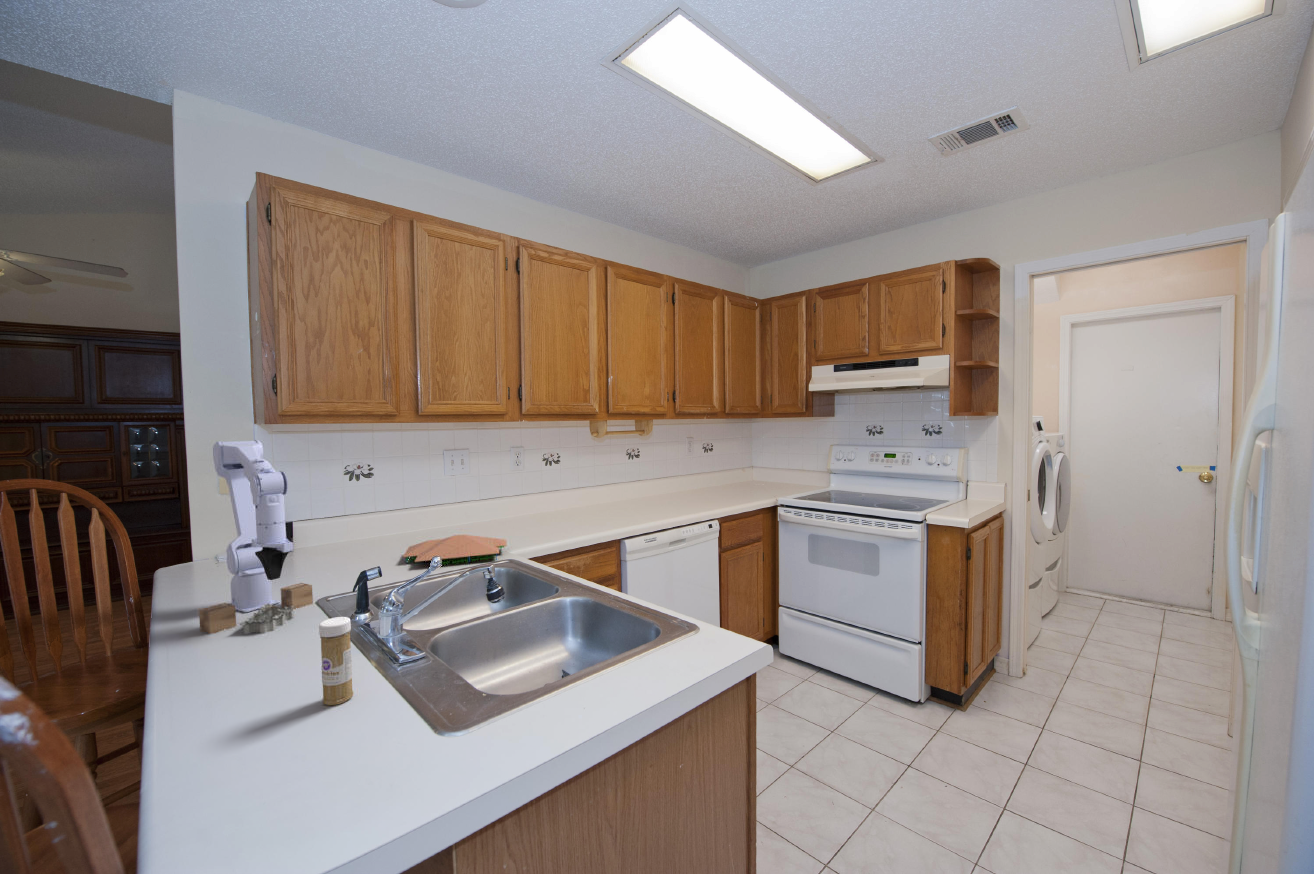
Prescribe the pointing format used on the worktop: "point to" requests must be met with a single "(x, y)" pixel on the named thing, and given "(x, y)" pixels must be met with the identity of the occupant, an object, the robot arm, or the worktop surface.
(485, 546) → the house
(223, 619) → the numbered block seven
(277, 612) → the egg carton
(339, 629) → the sprinkles bottle
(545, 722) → the worktop surface
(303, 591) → the numbered block one
